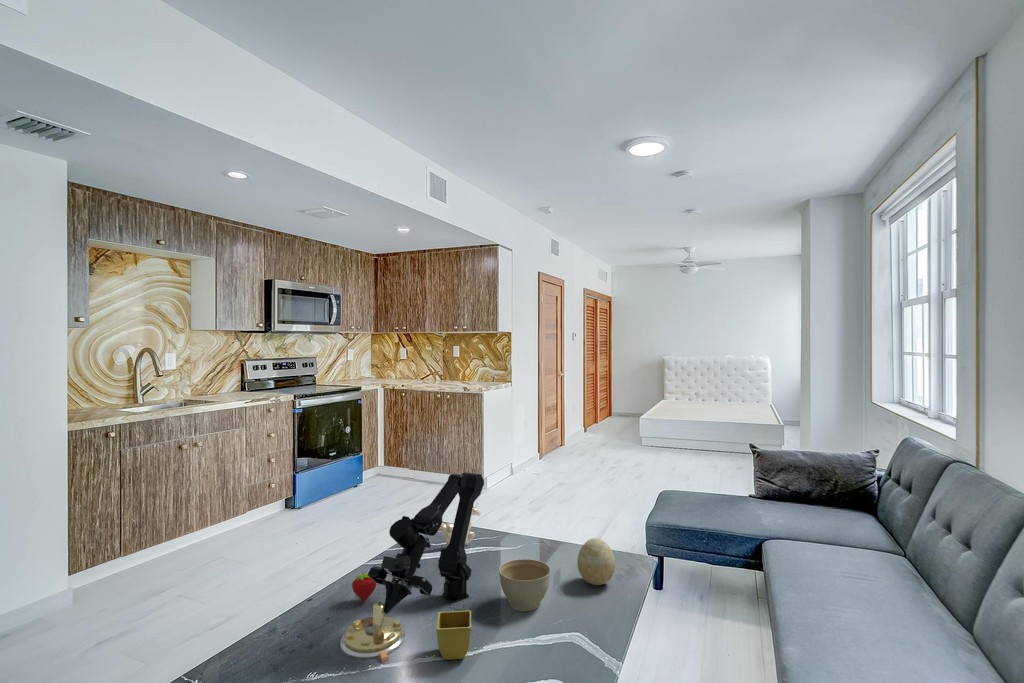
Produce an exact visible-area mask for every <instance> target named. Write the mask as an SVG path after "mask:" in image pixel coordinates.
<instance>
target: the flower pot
mask: <svg viewBox="0 0 1024 683" xmlns="http://www.w3.org/2000/svg"><path fill="white" fill-rule="evenodd" d="M471 631H472V610H454V611H453V610H452V611H451V610H450V611H439V612H438V613H437V622H436V638H437V646H438V647H437V648H438V651H439V653H440V654H441V656H442V659H444V660H445V661H446V660H464V659H465V657H466V656H467V655H468V653H469V649H470V643H471V635H472V634H471V633H472V632H471Z"/></svg>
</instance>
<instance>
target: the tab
mask: <svg viewBox="0 0 1024 683" xmlns="http://www.w3.org/2000/svg"><path fill="white" fill-rule="evenodd" d="M378 658H379V659H380V661H381V663H384V662H388V661H389V655H388V654H387V653H386V651H382V652H379V657H378Z"/></svg>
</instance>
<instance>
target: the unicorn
mask: <svg viewBox="0 0 1024 683" xmlns="http://www.w3.org/2000/svg"><path fill="white" fill-rule="evenodd" d="M478 504H479V503H478V502H477V503H476V505H475V507H474V506H473V509H472V514H471V518H470V523H469V527H468V532H467V536H466V541H465V545H466V544H468V543H471V541H473V539H474V537H475V536H476V534H475V532H473V531H470V530H471V528H472V516H476V515H477V516H481V511H479V510H477V505H478ZM453 525H454V523H452V522H451V523H450V522H448V523H444V522H442V524H441V526H440V528H439V530H438V532H439V531H441V532H442V535H444V538H445V539H444V540H445V543H446V544H447V546H448V545H449V542H450V538H451V534H452V530H453ZM469 535H471V536H470V537H469Z"/></svg>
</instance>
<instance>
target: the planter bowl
mask: <svg viewBox="0 0 1024 683" xmlns="http://www.w3.org/2000/svg"><path fill="white" fill-rule="evenodd" d="M551 570H552V569H551V567H550V565H549V564H547V563H545V562H543V561H540V560H538V559H532V558H531V559H529V558H522V559H521V558H519V559H512V560H509V561H506V562H504V563H502V564H501V565H500V567H499V569H498V574H499V581H500V587H501V590H502V592H503V594H504V596H505V598H506V600H508V603H509V606H510V607H511V608H512V609H514V610H516V611H520V612H530V611H533V610H536V609H538V608H539V607H540V606H541V602H542V601H543V599H544V597H545V596H546V594H547V592H548V589H549V586H550V581H551V580H550V579H551Z"/></svg>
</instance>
